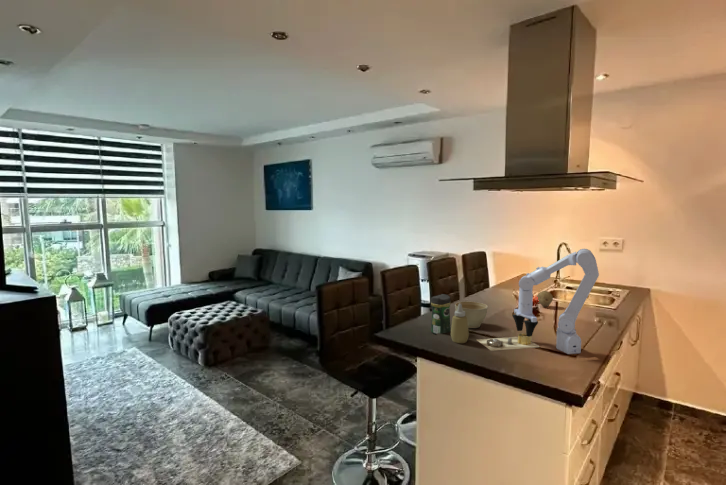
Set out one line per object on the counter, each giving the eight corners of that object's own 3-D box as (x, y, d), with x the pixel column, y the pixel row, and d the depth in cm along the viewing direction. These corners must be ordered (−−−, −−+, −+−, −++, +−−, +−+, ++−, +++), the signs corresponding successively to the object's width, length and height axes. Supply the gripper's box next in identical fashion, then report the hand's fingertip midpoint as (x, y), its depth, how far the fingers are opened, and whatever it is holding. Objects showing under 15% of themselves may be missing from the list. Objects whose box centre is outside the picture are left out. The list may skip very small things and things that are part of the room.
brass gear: (533, 344, 177) (533, 336, 176) (522, 345, 176) (522, 337, 175) (526, 340, 182) (526, 332, 182) (515, 341, 181) (515, 333, 181)
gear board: (540, 349, 174) (540, 341, 173) (490, 352, 170) (491, 344, 170) (522, 338, 188) (522, 331, 187) (476, 341, 184) (476, 334, 183)
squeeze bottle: (455, 338, 188) (455, 300, 186) (471, 342, 183) (472, 303, 181) (447, 343, 182) (447, 304, 180) (463, 347, 177) (464, 307, 175)
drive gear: (506, 347, 174) (506, 341, 174) (491, 348, 173) (491, 342, 172) (498, 341, 181) (498, 336, 180) (483, 342, 179) (484, 337, 179)
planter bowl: (473, 332, 196) (473, 311, 195) (448, 324, 209) (448, 304, 208) (493, 326, 206) (494, 305, 205) (468, 319, 219) (468, 299, 218)
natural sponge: (548, 309, 237) (548, 293, 236) (533, 307, 243) (533, 290, 242) (555, 307, 243) (555, 290, 242) (540, 304, 249) (540, 288, 248)
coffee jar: (439, 328, 204) (440, 292, 202) (453, 331, 198) (453, 294, 196) (427, 332, 197) (428, 295, 195) (441, 336, 191) (441, 298, 190)
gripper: (508, 299, 184) (507, 328, 185) (526, 308, 169) (525, 339, 171) (522, 299, 185) (521, 327, 186) (541, 307, 171) (540, 338, 172)
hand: (524, 333), depth 179 cm, fingers open, 7 cm apart
